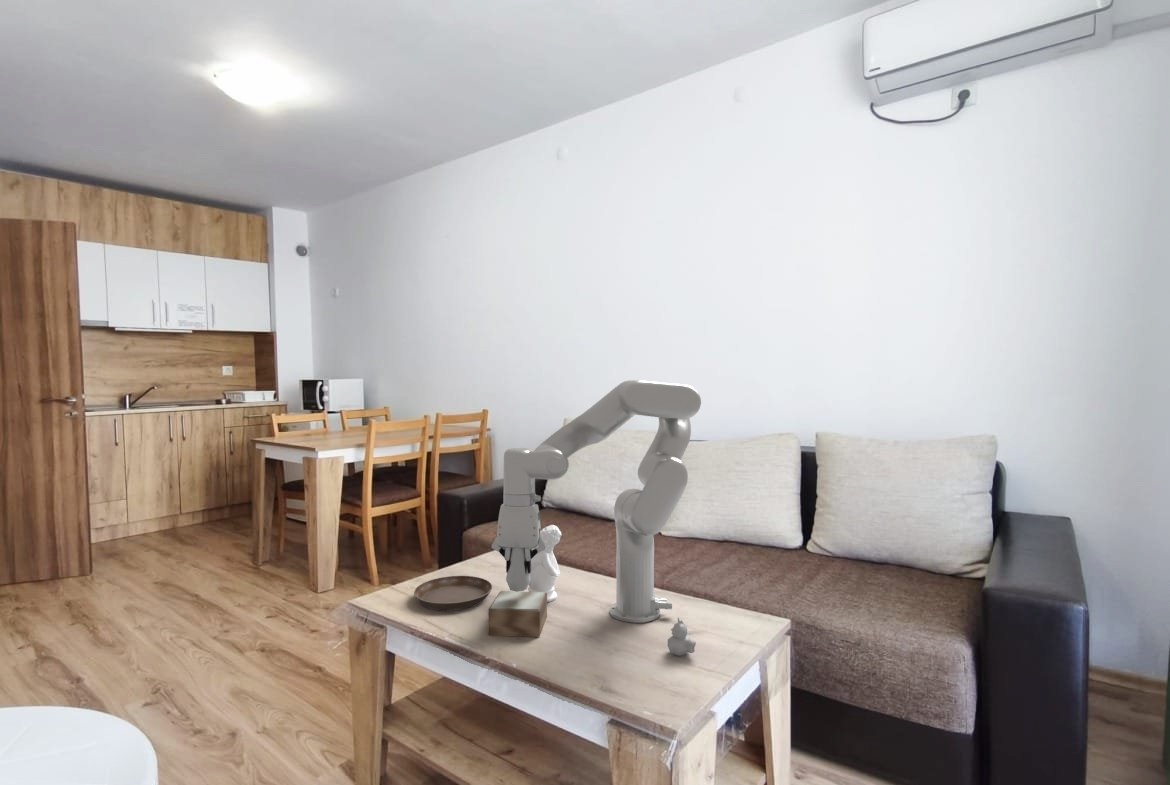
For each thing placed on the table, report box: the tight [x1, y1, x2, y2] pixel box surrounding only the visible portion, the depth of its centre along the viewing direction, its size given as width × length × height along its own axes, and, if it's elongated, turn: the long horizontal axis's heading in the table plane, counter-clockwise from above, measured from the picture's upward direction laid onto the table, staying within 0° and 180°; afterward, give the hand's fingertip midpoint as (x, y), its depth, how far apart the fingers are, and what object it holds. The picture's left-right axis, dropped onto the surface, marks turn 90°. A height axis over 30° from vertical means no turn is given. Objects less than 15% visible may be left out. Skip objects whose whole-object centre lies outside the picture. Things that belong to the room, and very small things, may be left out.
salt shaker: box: [505, 541, 530, 592], centre depth 143 cm, size 6×6×13 cm
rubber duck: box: [667, 617, 697, 657], centre depth 128 cm, size 5×7×8 cm
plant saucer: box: [413, 575, 493, 612], centre depth 161 cm, size 21×21×3 cm
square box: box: [487, 590, 548, 638], centre depth 143 cm, size 12×12×6 cm
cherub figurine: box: [527, 524, 562, 603], centre depth 161 cm, size 12×12×22 cm
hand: (518, 575), depth 143 cm, fingers closed on salt shaker, 3 cm apart
